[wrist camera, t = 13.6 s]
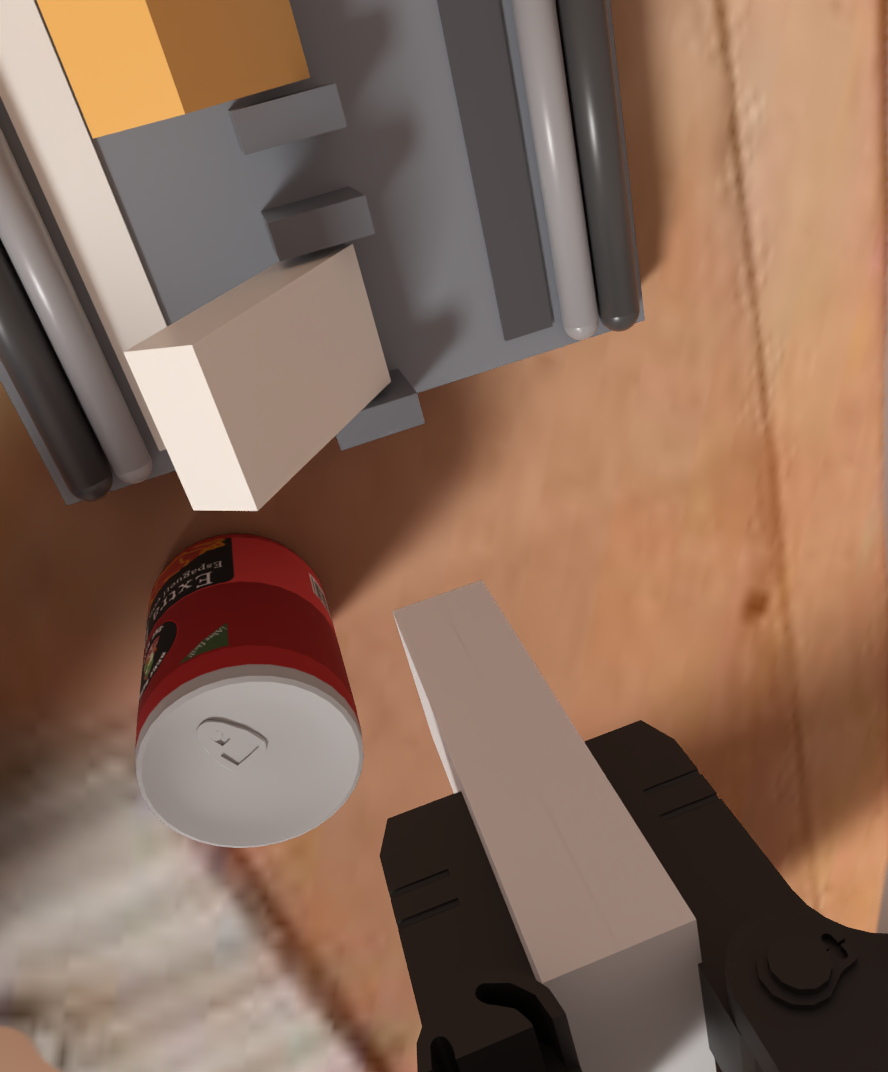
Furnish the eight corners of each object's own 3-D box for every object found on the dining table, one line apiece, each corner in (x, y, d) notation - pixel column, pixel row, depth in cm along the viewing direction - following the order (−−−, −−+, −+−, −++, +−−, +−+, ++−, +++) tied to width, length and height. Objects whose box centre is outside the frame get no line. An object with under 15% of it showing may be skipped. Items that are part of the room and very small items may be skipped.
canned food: (197, 499, 35) (198, 643, 26) (356, 571, 39) (408, 720, 30) (117, 637, 37) (91, 818, 28) (275, 694, 41) (300, 870, 32)
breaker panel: (618, 307, 36) (683, 339, 32) (74, 480, 34) (54, 544, 29) (551, -225, 27) (630, -296, 23) (-198, -48, 25) (-294, -85, 20)
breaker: (400, 372, 31) (258, 510, 24) (345, 376, 32) (193, 510, 25) (363, 236, 29) (191, 344, 21) (305, 246, 30) (123, 352, 22)
